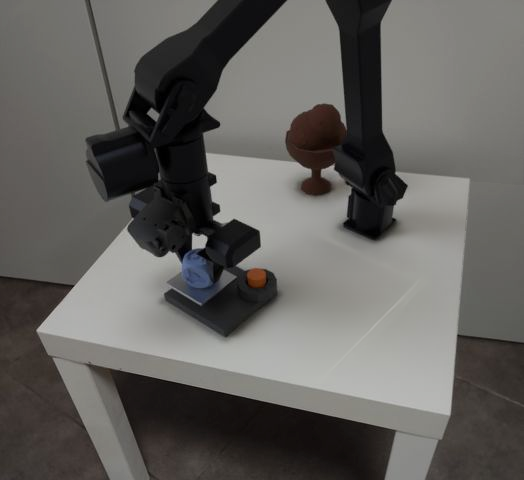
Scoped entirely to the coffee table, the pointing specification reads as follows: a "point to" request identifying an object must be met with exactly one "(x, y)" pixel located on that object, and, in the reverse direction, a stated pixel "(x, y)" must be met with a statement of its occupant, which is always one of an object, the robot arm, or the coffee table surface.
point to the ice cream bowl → (315, 144)
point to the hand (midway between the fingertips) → (201, 273)
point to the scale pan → (200, 294)
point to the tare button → (256, 278)
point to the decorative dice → (195, 270)
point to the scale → (228, 302)
